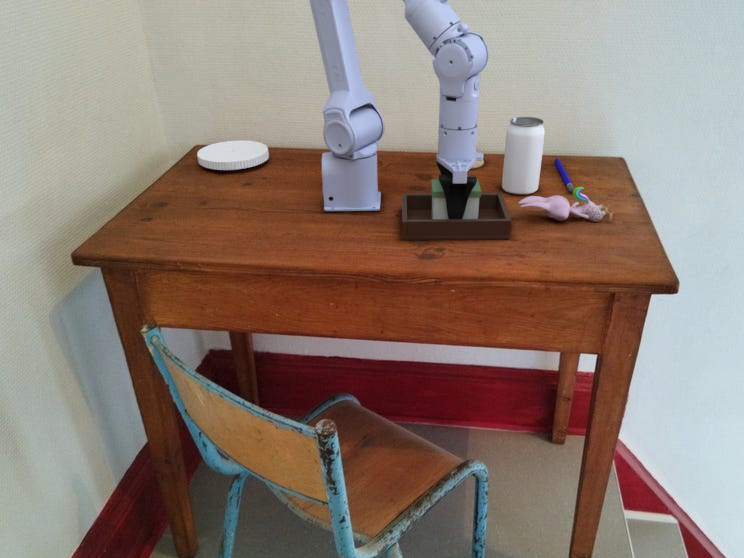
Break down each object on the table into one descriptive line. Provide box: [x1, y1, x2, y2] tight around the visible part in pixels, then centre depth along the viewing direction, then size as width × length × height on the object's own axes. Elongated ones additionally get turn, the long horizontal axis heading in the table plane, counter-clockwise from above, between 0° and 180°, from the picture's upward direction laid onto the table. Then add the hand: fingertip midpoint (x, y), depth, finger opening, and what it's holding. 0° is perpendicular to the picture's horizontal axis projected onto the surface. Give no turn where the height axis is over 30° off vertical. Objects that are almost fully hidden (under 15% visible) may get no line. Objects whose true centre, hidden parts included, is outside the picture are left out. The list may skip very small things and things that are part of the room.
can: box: [501, 116, 546, 196], centre depth 115 cm, size 6×6×12 cm
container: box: [430, 178, 482, 219], centre depth 104 cm, size 7×5×6 cm
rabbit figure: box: [518, 186, 614, 223], centre depth 106 cm, size 6×6×15 cm
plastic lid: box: [196, 139, 270, 171], centre depth 133 cm, size 14×14×2 cm
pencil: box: [554, 158, 575, 193], centre depth 123 cm, size 17×1×1 cm, turn 177°
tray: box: [401, 192, 512, 241], centre depth 106 cm, size 17×12×3 cm
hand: (454, 212), depth 105 cm, fingers closed on container, 5 cm apart
